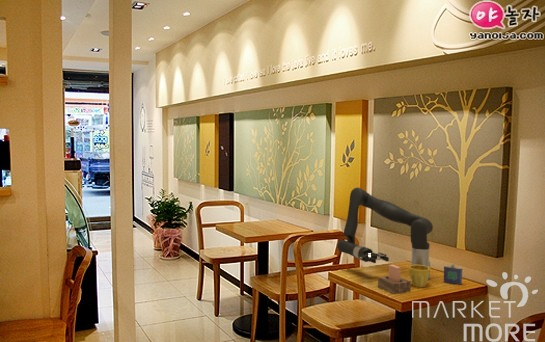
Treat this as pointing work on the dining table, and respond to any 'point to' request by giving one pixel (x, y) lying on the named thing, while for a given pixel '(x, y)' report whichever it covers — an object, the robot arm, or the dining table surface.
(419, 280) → the plant pot
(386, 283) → the walnut frame
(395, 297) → the dining table surface
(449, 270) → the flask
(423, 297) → the dining table surface
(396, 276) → the tall pink pillar
